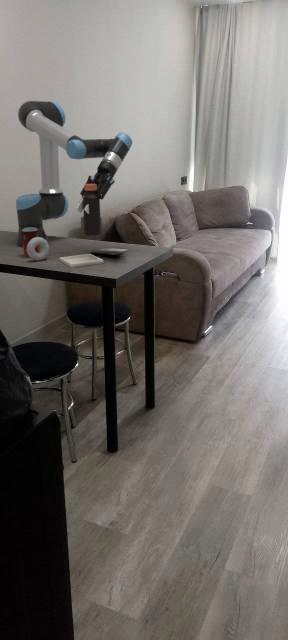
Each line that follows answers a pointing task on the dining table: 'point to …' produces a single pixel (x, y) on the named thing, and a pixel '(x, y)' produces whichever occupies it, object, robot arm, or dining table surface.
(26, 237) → the soda can
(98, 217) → the vinegar
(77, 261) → the tray
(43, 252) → the donut
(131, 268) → the dining table surface
